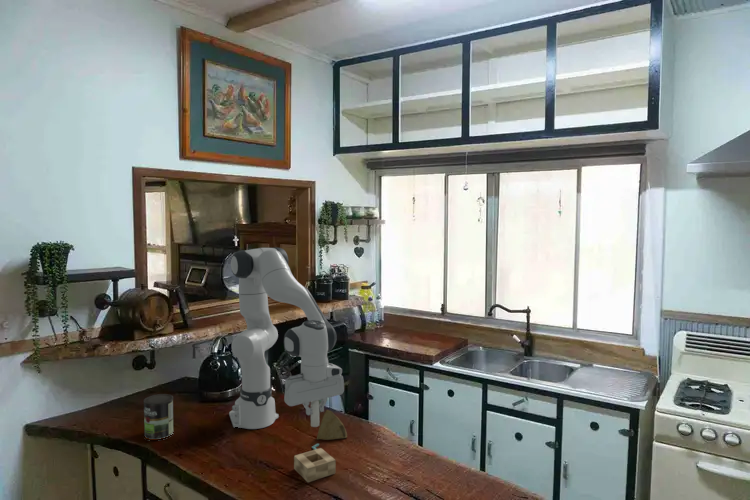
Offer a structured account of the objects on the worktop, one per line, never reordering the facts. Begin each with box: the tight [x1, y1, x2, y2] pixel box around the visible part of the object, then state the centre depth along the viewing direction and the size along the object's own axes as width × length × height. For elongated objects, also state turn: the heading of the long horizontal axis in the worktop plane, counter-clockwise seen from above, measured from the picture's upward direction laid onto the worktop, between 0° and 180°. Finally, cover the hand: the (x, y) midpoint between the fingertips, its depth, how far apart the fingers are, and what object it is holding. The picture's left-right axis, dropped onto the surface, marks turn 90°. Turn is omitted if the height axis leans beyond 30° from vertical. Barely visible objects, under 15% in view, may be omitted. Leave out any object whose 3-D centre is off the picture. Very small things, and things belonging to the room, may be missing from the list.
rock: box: [316, 409, 348, 441], centre depth 186 cm, size 11×9×10 cm
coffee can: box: [143, 393, 174, 439], centre depth 187 cm, size 10×10×14 cm
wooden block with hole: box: [293, 447, 337, 483], centre depth 162 cm, size 10×10×4 cm
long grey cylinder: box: [310, 400, 320, 428], centre depth 161 cm, size 3×3×10 cm
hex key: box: [311, 443, 320, 450], centre depth 176 cm, size 11×3×1 cm, turn 34°
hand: (314, 412), depth 161 cm, fingers closed on long grey cylinder, 3 cm apart
